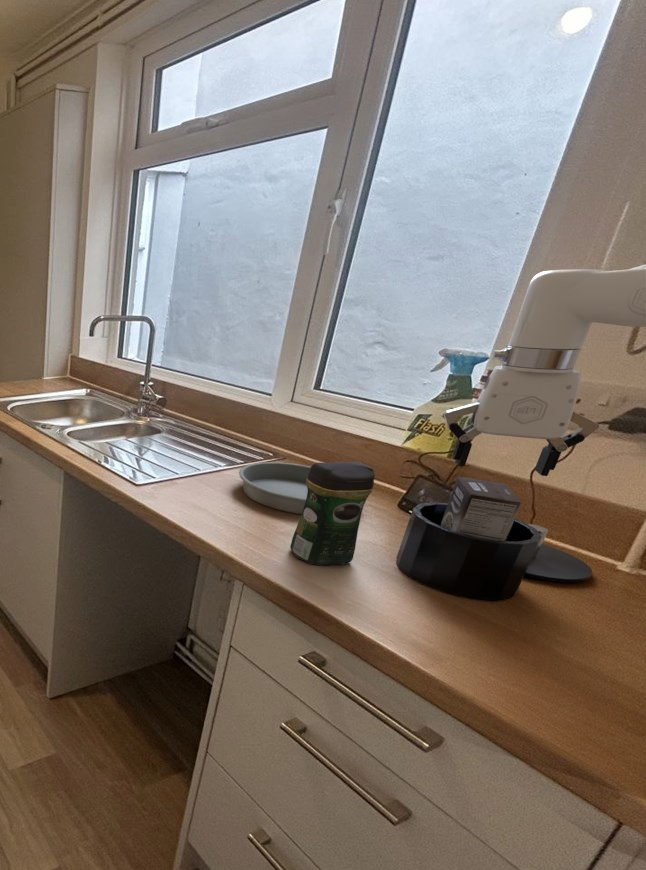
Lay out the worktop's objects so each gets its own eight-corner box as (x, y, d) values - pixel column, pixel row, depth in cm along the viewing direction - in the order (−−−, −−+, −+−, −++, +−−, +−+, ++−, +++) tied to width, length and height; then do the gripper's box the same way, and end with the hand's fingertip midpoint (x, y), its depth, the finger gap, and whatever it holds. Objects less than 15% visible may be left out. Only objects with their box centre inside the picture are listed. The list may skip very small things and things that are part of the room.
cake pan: (242, 511, 117) (246, 492, 116) (230, 474, 139) (233, 457, 137) (372, 525, 110) (378, 506, 108) (338, 484, 131) (342, 467, 130)
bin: (500, 567, 94) (523, 514, 90) (528, 612, 82) (556, 553, 78) (391, 545, 102) (408, 496, 98) (402, 584, 89) (421, 529, 85)
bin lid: (568, 552, 99) (583, 520, 96) (607, 595, 86) (626, 559, 83) (452, 531, 107) (464, 501, 105) (472, 568, 94) (486, 535, 91)
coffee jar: (330, 545, 102) (355, 455, 95) (359, 566, 95) (389, 470, 88) (281, 547, 102) (303, 456, 95) (306, 568, 94) (332, 471, 87)
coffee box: (426, 557, 97) (456, 475, 91) (472, 566, 94) (506, 482, 87) (435, 580, 89) (468, 493, 83) (485, 591, 86) (524, 501, 80)
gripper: (467, 359, 79) (433, 467, 85) (637, 366, 70) (585, 485, 77) (457, 353, 85) (425, 454, 91) (612, 359, 76) (566, 470, 83)
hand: (498, 468), depth 84 cm, fingers open, 9 cm apart
